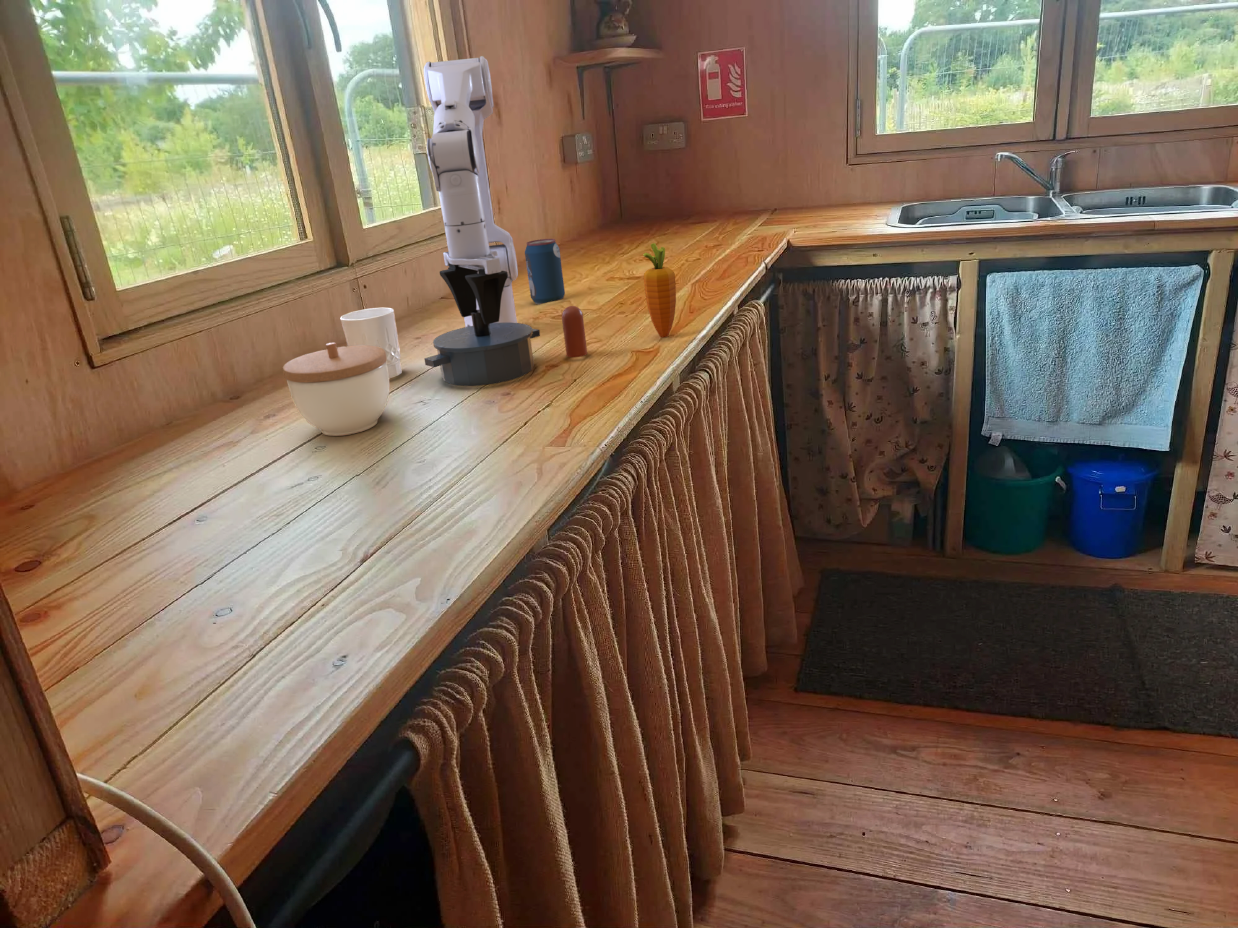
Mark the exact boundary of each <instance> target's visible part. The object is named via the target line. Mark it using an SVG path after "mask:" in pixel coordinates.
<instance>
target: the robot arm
mask: <svg viewBox="0 0 1238 928" xmlns="http://www.w3.org/2000/svg"><path fill="white" fill-rule="evenodd" d="M423 78H424V85H425V90H426V91H425V92H426V95H427V98H428V101H429V102H430V105H431V107H432V110H433V112H434V113H433V128H432V129H433V130H432V135H431V137H427V138H426V152H427V160H428V164H429V167H430V171H431V173H432V177H433V180H434V181H433V182H434V187H435V190H436V192H438V197H439V203H440V204H439V205H440V209H441V215H442V220H443V225H444V232H445V233H444V234H445V238H446V244H447V250H448V251H445V252H443V253H442V254H443V260H444V265H445V266H446V267H447V269H442V270H440V271H439V275H440V277H441V278H442V279H443V281H444V282H445V284H446V285H447V287H448V289H449V290H450V292H451V295H452V297H453V299H454V302H455V304H456V306H457V309H458V311H459V313H460V316H461V317H462V318H463V320H464V327H469V326H473V322H472V316H471V312H472V311H474V310H480V313H481V317H482V320H483V322H484V324H491V323H518V317H517V312H516V311H517V310H516V306H515V298H514V291H513V281H514V282H515V281H516V280H517V278H518V277H519V270H518V269H519V268H518V262H517V261H518V260H517V255H516V254H517V253H516V249H515V246H514V245H515V244H514V239H513V236H512V235H511V233H510V232H509V231H507V230H506V229H503V228H502V227H500V226H498V225H497V224H496V223H495V220H494V211H493V205H492V197H491V189H490V182H489V175H488V167H487V160H486V153H485V147H484V138H483V132H484V131H483V130H484V121H485V120H486V119H487V118H489V117H491V116H492V115H493V114H494V110H493V109H494V105H495V104H494V97H493V87H492V86H493V85H492V79H491V78H492V77H491V71H490V66H489V61H488V59H487V58H485V56H484V55H479V57H473V58H462V59H451V60H444V61H443V60H442V61H426V62H425V64H424V66H423ZM490 243H501V244H493V245H490Z"/></svg>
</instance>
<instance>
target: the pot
mask: <svg viewBox="0 0 1238 928" xmlns="http://www.w3.org/2000/svg"><path fill="white" fill-rule="evenodd" d="M532 330H533V334H532V335H531V336H530V337H529V338H527V339H526V340H524V341H521V342H519V343H516V344H513V345H509V346H505V347H501V348H496V349H490V350H483V351H474V352H447V351H441V350H438V349H436V351H437V354H435V355H431V356H428V357H424V365H425V366H427V367H432V368H437V367H440V372H441V373H440V374H441V378H442V379H443V382H444V383H447V384H450V385H454V386H461V387H475V386H476V387H478V386H479V387H480V386H487V385H488V386H489V385H494V384H499V383H505V382H508V381H512V380H516V379H518V378H521V377H523V376H525V375H527V374H529V373H530V372H531V371H532V370H533V368H534V366H535V362H534V361H535V360H534V354H533V348H532V347H533V346H532V341H531V340H532V339H535V338H538V337H540V336H541V331H540V329H538V328H532Z"/></svg>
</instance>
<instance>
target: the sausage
mask: <svg viewBox="0 0 1238 928" xmlns="http://www.w3.org/2000/svg"><path fill="white" fill-rule="evenodd" d="M561 322H562V332H563V338H564V346H565V355H566V357H568V358H580V357H584V356H586V355H587V354H588V347H587V339H586V330H585V321H584V313H583V311H582V310H581V308H579V307H578V306H576V305H569V306H567V307H565V308H564V309H563V311H562V312H561Z"/></svg>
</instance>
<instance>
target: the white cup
mask: <svg viewBox="0 0 1238 928" xmlns="http://www.w3.org/2000/svg"><path fill="white" fill-rule="evenodd" d="M339 319H340V323H341V326H342V330H343V333H344V337H345V343H346V346H357V345H368V346H377V347H380V348H382V349H384V350H385V352H386V358H387V360H386V363H387V368H388V374H389V379H392V378H395V377H397V376H399V375H401V374H402V373H403V370H402V369H403V368H402V363H401V351H400V343H399V335H398V334H399V333H398V328H397V321H396V316H395V309H394V308H391V307H371V308H364V309H359V310H354V311H350V312H348V313H345V314H343V315H341V316H340V318H339Z"/></svg>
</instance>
